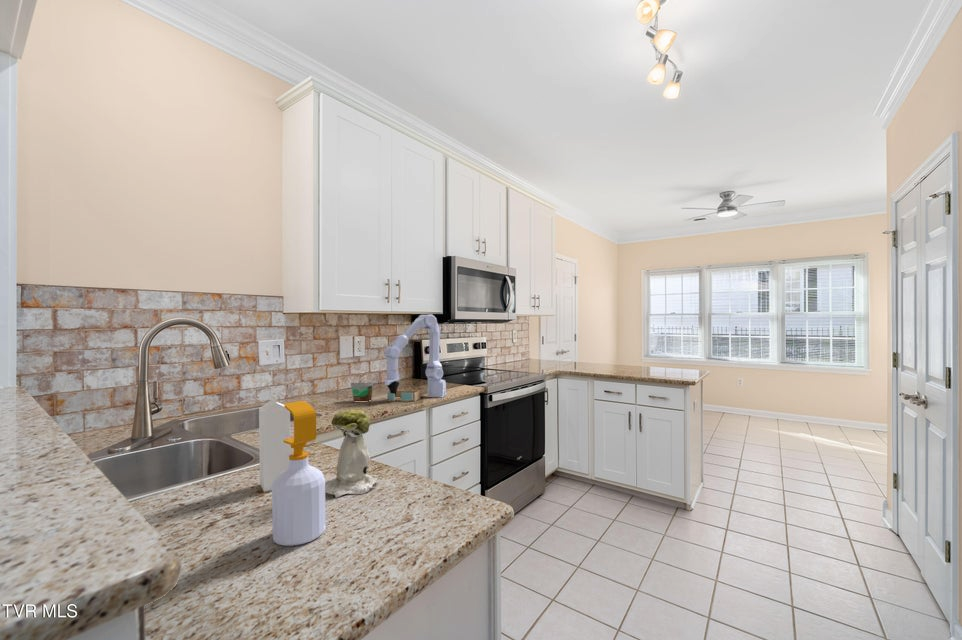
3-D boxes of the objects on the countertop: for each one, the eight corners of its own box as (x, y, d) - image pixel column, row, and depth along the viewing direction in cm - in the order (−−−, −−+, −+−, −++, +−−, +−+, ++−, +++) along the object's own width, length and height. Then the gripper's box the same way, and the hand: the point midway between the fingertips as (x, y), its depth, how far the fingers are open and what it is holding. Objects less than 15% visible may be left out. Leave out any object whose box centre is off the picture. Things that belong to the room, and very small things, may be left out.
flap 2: (412, 399, 206) (412, 392, 206) (412, 399, 205) (412, 393, 205) (401, 399, 207) (401, 392, 207) (401, 399, 207) (401, 392, 207)
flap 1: (395, 400, 204) (394, 393, 204) (394, 400, 203) (393, 394, 203) (388, 399, 208) (388, 392, 208) (387, 399, 208) (387, 392, 208)
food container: (345, 402, 206) (345, 382, 206) (352, 400, 212) (352, 381, 212) (367, 403, 202) (366, 383, 202) (373, 401, 208) (373, 381, 208)
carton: (420, 398, 214) (420, 390, 214) (414, 401, 206) (414, 393, 206) (394, 397, 217) (394, 390, 217) (387, 400, 209) (387, 392, 209)
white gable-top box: (264, 492, 97) (262, 398, 97) (259, 484, 101) (258, 395, 101) (291, 485, 100) (290, 395, 100) (285, 478, 105) (284, 392, 105)
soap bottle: (310, 518, 83) (308, 396, 83) (334, 532, 77) (333, 401, 78) (264, 536, 76) (262, 404, 76) (287, 553, 71) (285, 410, 71)
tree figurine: (321, 481, 102) (320, 408, 102) (374, 474, 107) (373, 403, 107) (321, 500, 91) (320, 418, 91) (380, 491, 96) (379, 412, 96)
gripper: (391, 368, 214) (392, 394, 214) (378, 372, 200) (379, 399, 200) (403, 368, 213) (404, 394, 213) (391, 372, 199) (392, 400, 199)
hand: (393, 397), depth 206 cm, fingers closed, pressing on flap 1
